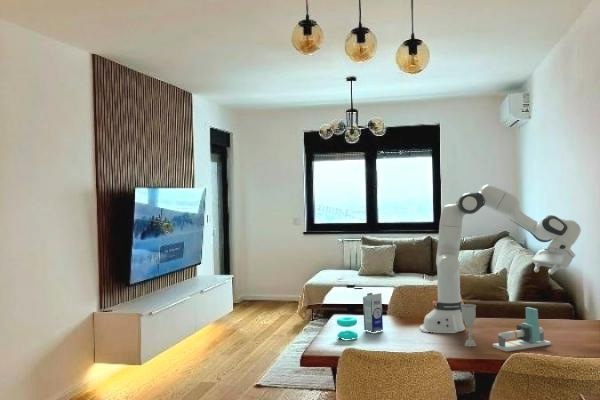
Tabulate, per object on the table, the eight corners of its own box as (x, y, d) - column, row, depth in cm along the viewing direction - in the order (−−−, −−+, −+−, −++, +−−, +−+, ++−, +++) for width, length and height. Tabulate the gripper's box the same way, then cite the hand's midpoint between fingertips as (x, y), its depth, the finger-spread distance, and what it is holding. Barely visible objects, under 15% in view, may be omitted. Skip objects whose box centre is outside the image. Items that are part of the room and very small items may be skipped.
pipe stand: (506, 351, 238) (505, 335, 238) (492, 346, 247) (492, 330, 247) (550, 344, 246) (550, 328, 246) (536, 340, 255) (535, 324, 255)
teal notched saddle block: (532, 342, 244) (531, 310, 244) (521, 338, 251) (520, 307, 251) (539, 341, 245) (538, 309, 245) (528, 337, 252) (527, 306, 252)
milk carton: (373, 334, 279) (371, 294, 279) (364, 331, 284) (362, 293, 284) (383, 331, 283) (381, 292, 283) (374, 329, 288) (372, 291, 288)
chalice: (459, 343, 254) (458, 304, 254) (474, 342, 255) (472, 303, 255) (466, 347, 247) (464, 307, 247) (480, 346, 248) (479, 306, 248)
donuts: (333, 319, 270) (341, 315, 279) (334, 340, 270) (342, 335, 279) (352, 321, 265) (360, 316, 274) (353, 342, 265) (360, 337, 274)
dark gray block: (526, 341, 244) (526, 327, 244) (517, 338, 249) (516, 324, 250) (529, 341, 244) (529, 327, 244) (519, 338, 250) (519, 324, 250)
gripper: (538, 244, 274) (523, 266, 271) (570, 246, 254) (554, 270, 251) (545, 252, 275) (531, 274, 272) (578, 255, 256) (562, 278, 253)
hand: (542, 272), depth 261 cm, fingers open, 8 cm apart
